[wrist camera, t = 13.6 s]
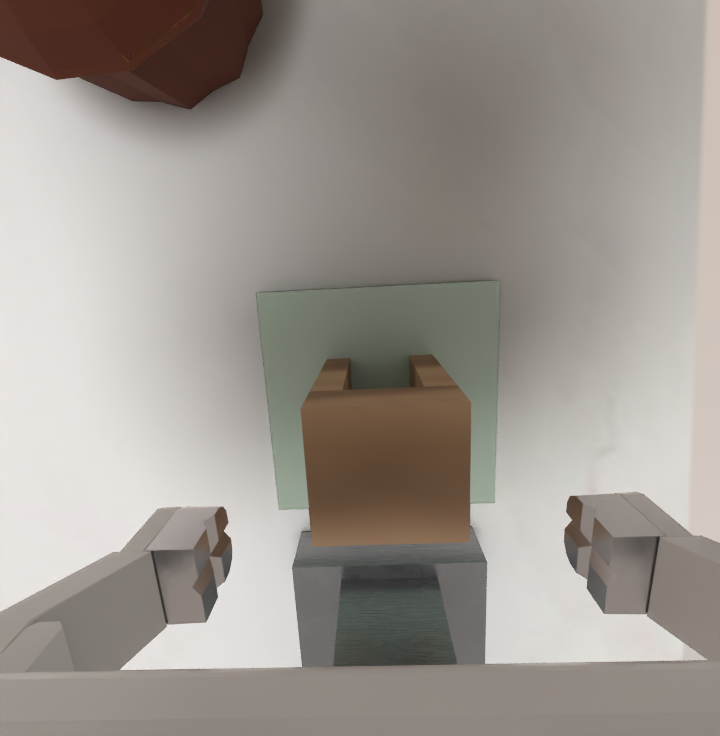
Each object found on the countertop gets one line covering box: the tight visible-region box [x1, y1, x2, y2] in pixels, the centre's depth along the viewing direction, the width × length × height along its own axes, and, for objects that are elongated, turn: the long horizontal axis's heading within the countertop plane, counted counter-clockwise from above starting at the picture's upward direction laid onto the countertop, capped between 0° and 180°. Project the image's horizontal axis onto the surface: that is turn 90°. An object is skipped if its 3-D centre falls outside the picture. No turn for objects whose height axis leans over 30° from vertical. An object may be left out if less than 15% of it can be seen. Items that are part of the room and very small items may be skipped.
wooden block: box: [300, 355, 471, 547], centre depth 17 cm, size 5×5×8 cm
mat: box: [256, 280, 500, 510], centre depth 21 cm, size 12×12×1 cm
